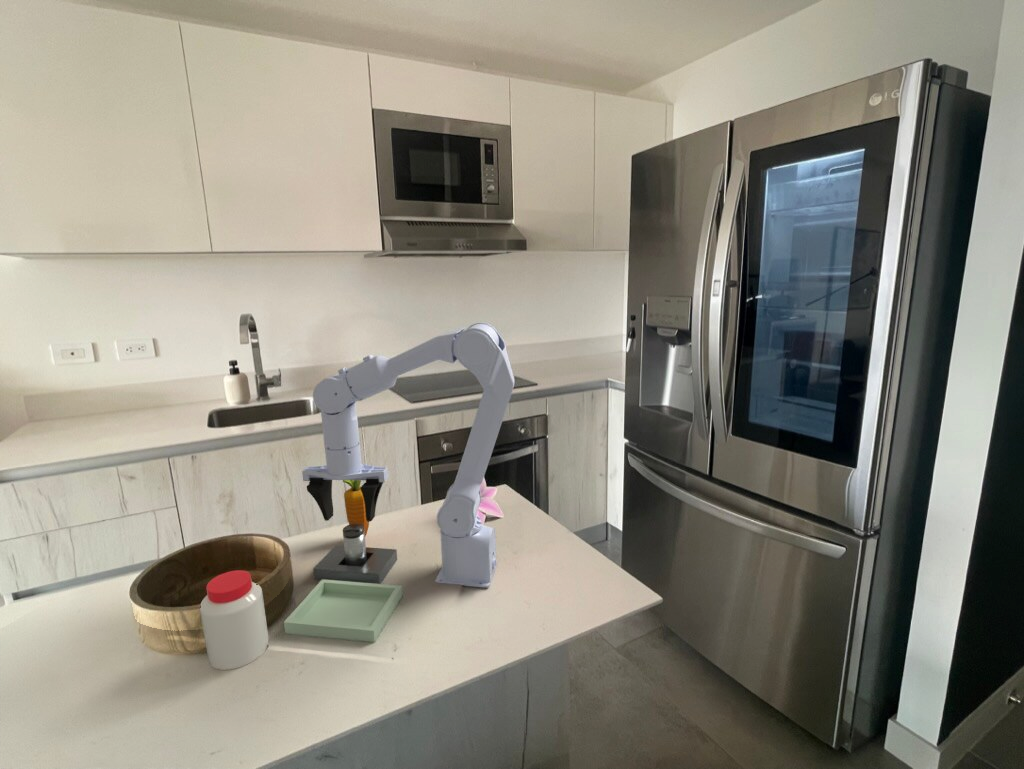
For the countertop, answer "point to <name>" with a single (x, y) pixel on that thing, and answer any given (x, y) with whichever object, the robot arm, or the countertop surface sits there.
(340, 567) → the hitch block
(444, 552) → the robot arm
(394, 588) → the tray
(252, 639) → the pill bottle
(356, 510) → the carrot
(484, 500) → the lily
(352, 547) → the pin
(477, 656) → the countertop surface
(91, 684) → the countertop surface
